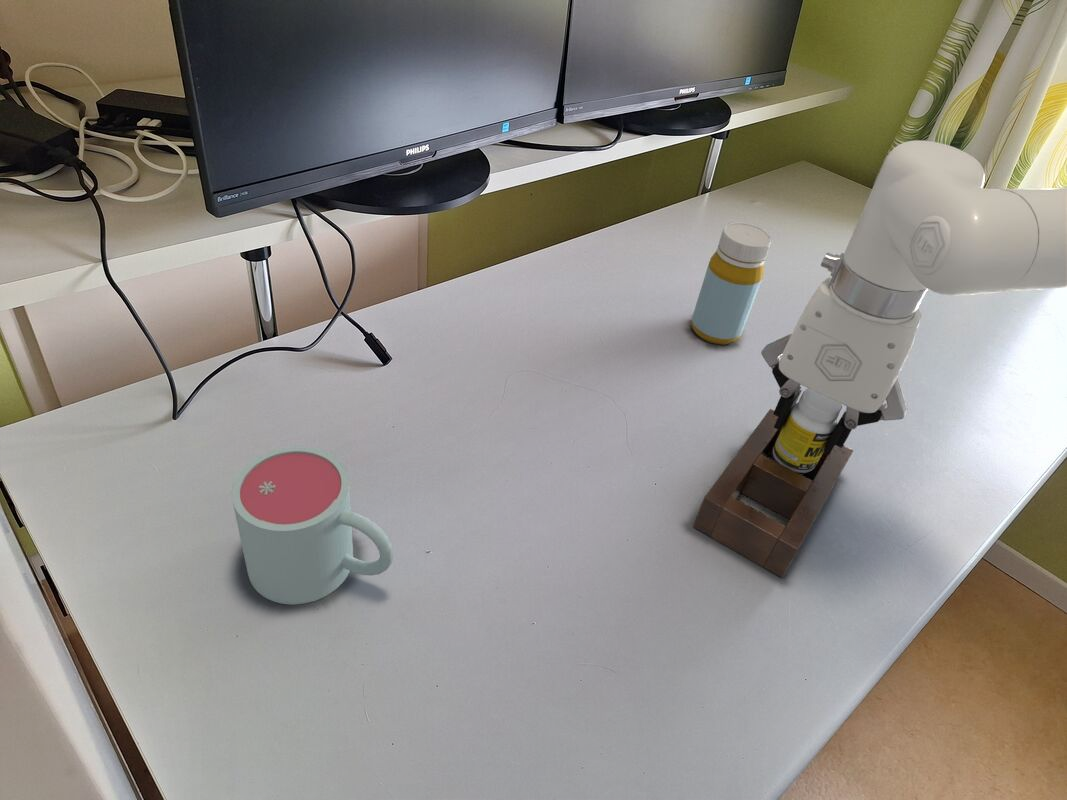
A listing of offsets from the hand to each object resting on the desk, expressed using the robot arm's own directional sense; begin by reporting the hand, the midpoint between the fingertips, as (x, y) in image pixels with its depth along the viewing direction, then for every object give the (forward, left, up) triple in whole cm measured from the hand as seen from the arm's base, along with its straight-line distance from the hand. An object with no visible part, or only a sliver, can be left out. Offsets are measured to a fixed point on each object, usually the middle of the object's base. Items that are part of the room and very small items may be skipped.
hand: (806, 433), depth 79 cm
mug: (+29, +40, -8) cm, 50 cm away
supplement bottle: (0, 0, -4) cm, 4 cm away
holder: (0, +4, -7) cm, 8 cm away
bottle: (+18, -21, -8) cm, 29 cm away
